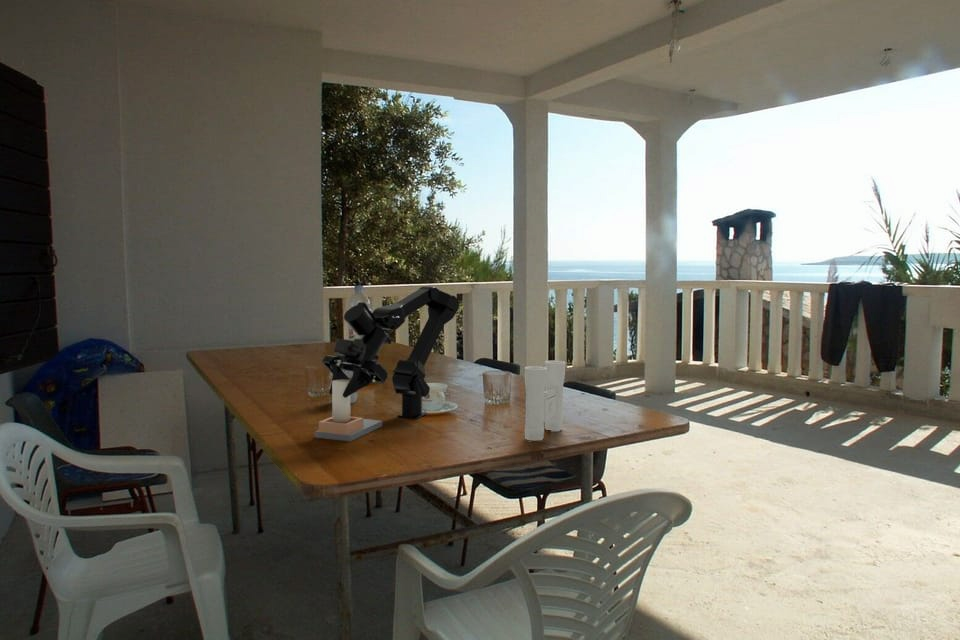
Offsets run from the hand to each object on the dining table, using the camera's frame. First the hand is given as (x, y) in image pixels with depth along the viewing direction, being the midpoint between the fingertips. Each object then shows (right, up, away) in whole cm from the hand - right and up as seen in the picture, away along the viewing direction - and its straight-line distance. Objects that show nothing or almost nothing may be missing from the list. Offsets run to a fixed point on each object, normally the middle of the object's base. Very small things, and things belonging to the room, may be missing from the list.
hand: (337, 395), depth 165 cm
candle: (+1, -6, +2) cm, 7 cm away
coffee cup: (-6, -7, +42) cm, 43 cm away
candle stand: (+2, -10, +6) cm, 12 cm away
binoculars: (+52, -11, +6) cm, 53 cm away
